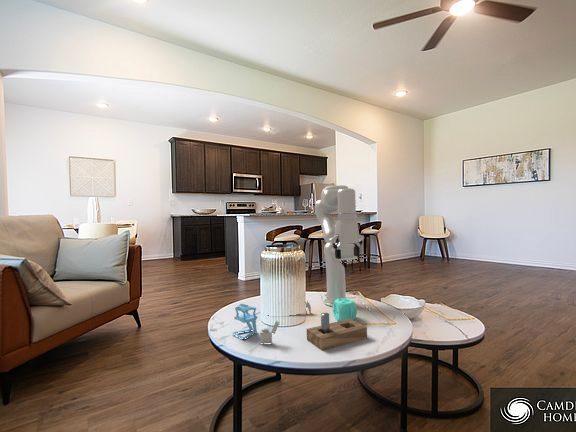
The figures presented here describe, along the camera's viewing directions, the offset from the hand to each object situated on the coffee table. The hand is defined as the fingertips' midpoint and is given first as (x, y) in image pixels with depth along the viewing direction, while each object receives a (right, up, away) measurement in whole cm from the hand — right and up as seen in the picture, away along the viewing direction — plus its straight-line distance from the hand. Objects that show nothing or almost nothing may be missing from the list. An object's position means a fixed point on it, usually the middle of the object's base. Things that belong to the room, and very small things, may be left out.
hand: (347, 257), depth 128 cm
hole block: (-7, -28, -18) cm, 34 cm away
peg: (-12, -28, -20) cm, 36 cm away
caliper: (-25, -28, +10) cm, 39 cm away
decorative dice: (-1, -28, +2) cm, 28 cm away
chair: (-42, -29, -11) cm, 52 cm away
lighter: (-32, -29, -20) cm, 47 cm away
